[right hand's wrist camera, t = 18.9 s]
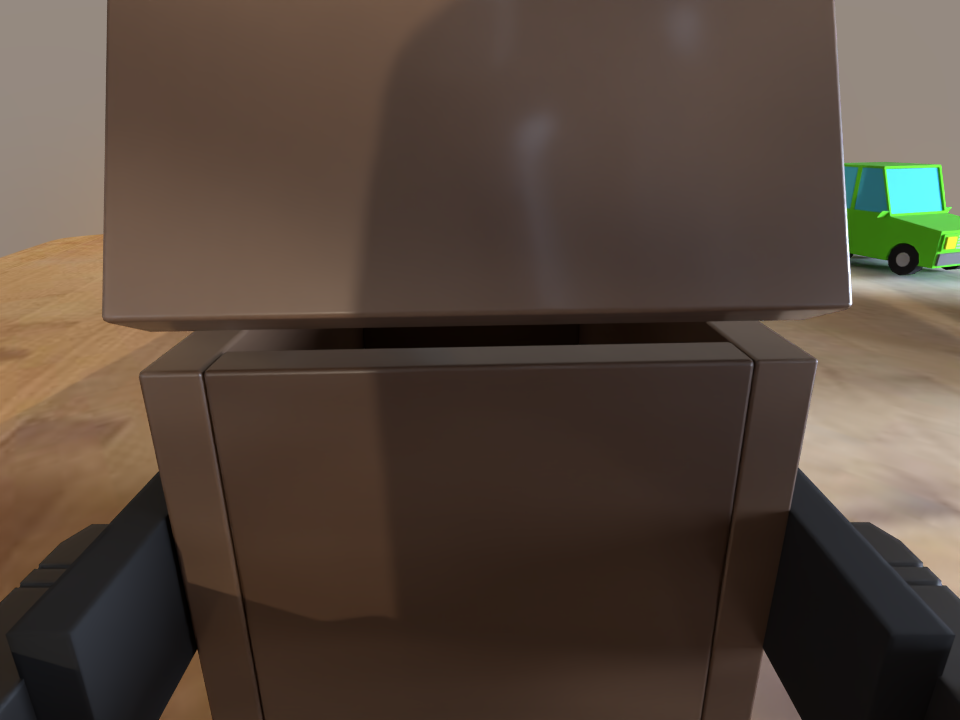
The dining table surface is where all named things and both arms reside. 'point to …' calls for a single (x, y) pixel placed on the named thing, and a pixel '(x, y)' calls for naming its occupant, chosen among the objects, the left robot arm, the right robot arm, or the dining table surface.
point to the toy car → (901, 216)
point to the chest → (480, 516)
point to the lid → (471, 163)
